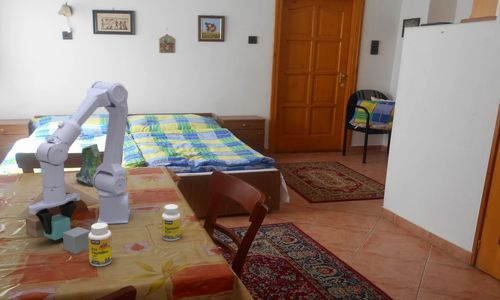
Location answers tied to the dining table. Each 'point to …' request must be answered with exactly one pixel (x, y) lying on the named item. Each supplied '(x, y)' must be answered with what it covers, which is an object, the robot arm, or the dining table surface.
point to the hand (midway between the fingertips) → (57, 230)
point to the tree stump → (89, 164)
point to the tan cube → (34, 226)
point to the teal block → (58, 226)
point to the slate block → (76, 240)
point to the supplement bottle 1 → (100, 245)
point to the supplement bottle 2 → (171, 223)
